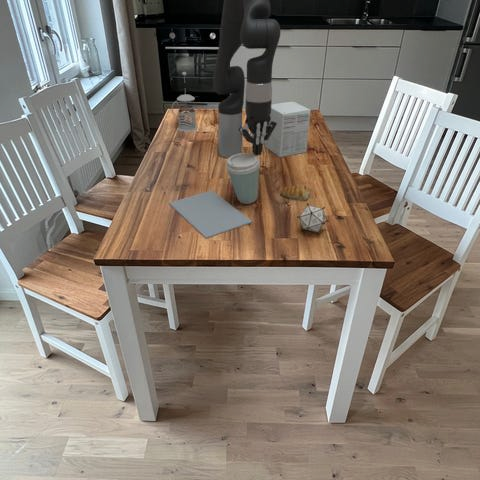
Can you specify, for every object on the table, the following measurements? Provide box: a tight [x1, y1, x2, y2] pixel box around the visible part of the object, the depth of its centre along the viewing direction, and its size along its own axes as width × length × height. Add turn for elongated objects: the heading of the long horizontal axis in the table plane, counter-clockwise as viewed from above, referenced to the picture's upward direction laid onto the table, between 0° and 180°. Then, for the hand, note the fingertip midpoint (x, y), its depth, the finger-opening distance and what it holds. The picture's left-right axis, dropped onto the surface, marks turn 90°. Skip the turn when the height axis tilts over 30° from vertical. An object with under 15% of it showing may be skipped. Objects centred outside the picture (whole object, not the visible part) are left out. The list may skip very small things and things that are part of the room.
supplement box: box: [264, 101, 312, 158], centre depth 168 cm, size 13×13×18 cm
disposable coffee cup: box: [225, 152, 261, 205], centre depth 131 cm, size 11×11×15 cm
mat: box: [168, 190, 253, 239], centre depth 129 cm, size 24×16×1 cm, turn 34°
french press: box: [171, 71, 199, 133], centre depth 186 cm, size 10×12×25 cm
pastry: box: [280, 184, 310, 201], centre depth 138 cm, size 9×7×4 cm
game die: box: [296, 202, 329, 236], centre depth 119 cm, size 9×8×10 cm
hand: (257, 154), depth 128 cm, fingers closed
